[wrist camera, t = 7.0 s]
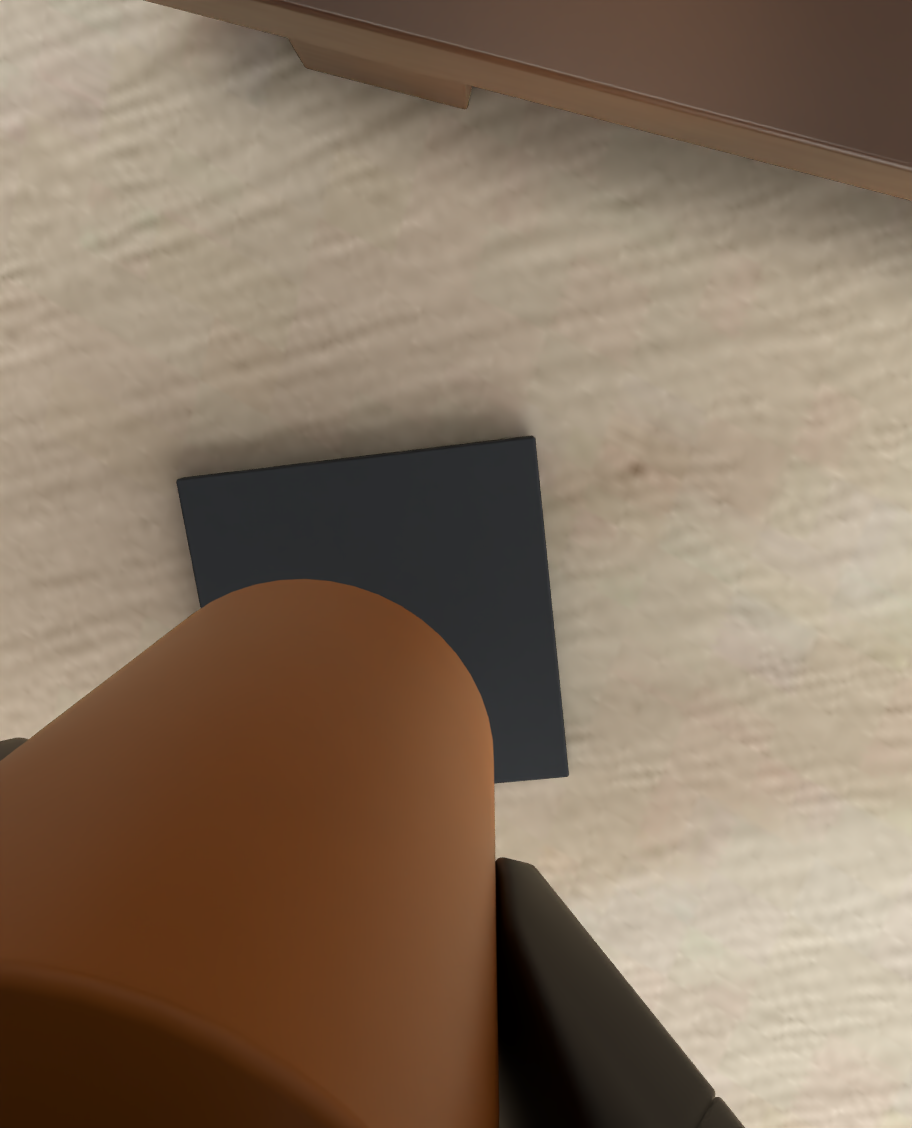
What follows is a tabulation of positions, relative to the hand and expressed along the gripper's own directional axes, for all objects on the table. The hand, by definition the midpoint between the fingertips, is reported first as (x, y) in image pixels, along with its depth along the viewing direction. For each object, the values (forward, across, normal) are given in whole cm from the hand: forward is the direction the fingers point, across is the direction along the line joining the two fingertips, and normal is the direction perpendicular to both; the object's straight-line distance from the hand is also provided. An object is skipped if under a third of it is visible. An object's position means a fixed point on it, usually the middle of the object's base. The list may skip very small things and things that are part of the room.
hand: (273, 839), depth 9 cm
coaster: (+8, 0, 0) cm, 8 cm away
